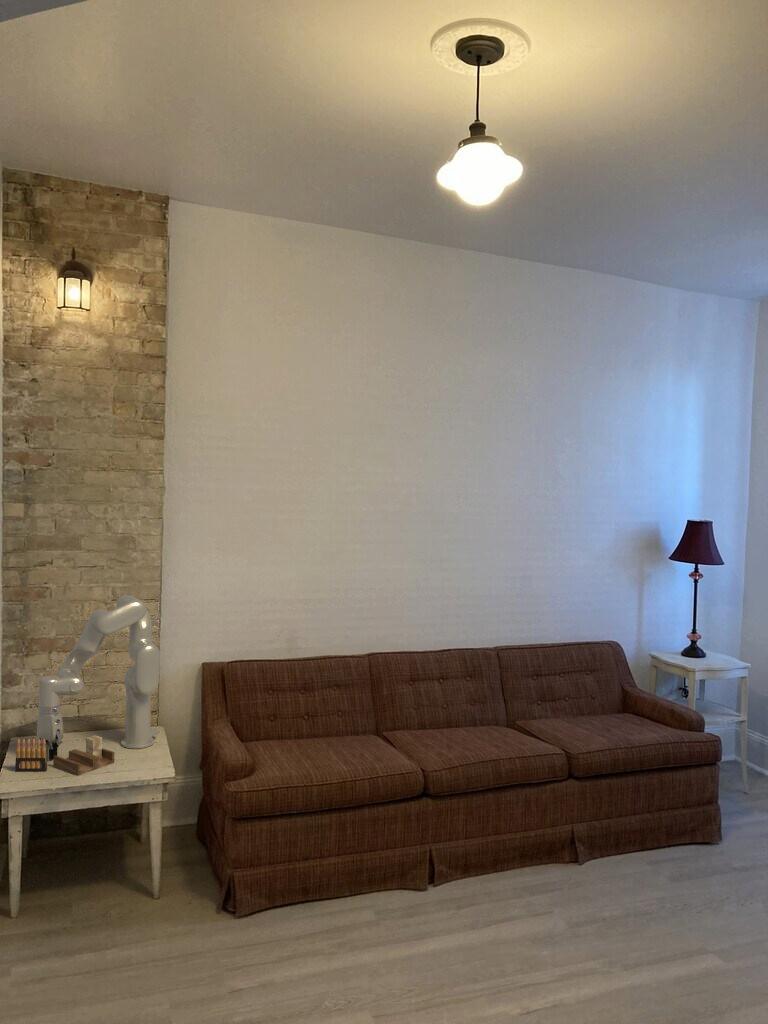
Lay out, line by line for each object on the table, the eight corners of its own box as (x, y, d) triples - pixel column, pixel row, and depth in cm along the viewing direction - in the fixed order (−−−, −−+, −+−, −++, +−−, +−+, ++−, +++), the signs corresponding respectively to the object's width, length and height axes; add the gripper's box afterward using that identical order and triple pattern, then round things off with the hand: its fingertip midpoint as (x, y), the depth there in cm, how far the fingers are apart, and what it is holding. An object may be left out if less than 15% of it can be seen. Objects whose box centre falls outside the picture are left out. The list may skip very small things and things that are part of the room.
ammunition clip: (14, 771, 295) (15, 739, 294) (16, 770, 296) (16, 737, 296) (45, 771, 296) (46, 739, 295) (47, 769, 298) (47, 737, 297)
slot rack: (89, 754, 314) (89, 744, 314) (114, 762, 307) (114, 752, 306) (53, 766, 300) (53, 756, 300) (78, 775, 293) (78, 764, 293)
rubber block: (50, 756, 311) (50, 740, 310) (57, 758, 309) (57, 743, 308) (41, 759, 307) (41, 743, 307) (47, 761, 305) (47, 745, 305)
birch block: (94, 756, 310) (94, 735, 309) (101, 758, 308) (101, 737, 307) (85, 759, 306) (86, 738, 306) (92, 761, 304) (93, 740, 304)
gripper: (72, 711, 306) (72, 759, 307) (44, 702, 315) (44, 749, 316) (55, 716, 299) (54, 765, 300) (26, 707, 308) (26, 755, 309)
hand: (49, 756), depth 308 cm, fingers closed on rubber block, 4 cm apart
